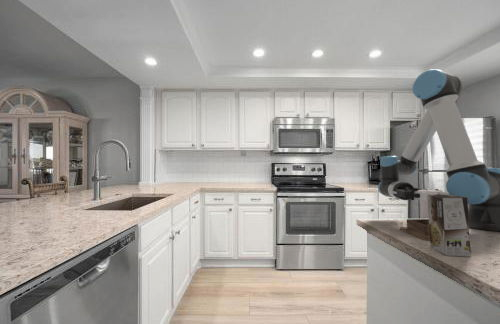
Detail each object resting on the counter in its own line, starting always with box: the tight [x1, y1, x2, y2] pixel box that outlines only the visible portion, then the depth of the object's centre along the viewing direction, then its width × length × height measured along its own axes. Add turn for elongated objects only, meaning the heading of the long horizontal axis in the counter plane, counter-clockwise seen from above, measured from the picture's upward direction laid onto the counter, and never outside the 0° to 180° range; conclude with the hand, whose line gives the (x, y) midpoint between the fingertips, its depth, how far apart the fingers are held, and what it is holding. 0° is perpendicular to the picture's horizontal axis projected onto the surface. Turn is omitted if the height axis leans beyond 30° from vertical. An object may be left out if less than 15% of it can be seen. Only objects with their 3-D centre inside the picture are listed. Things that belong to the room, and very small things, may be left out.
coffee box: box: [427, 195, 472, 257], centre depth 74 cm, size 9×6×16 cm
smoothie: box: [418, 178, 439, 219], centre depth 93 cm, size 6×6×14 cm
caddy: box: [399, 218, 430, 242], centre depth 92 cm, size 14×16×4 cm
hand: (437, 196), depth 88 cm, fingers closed on smoothie, 6 cm apart
